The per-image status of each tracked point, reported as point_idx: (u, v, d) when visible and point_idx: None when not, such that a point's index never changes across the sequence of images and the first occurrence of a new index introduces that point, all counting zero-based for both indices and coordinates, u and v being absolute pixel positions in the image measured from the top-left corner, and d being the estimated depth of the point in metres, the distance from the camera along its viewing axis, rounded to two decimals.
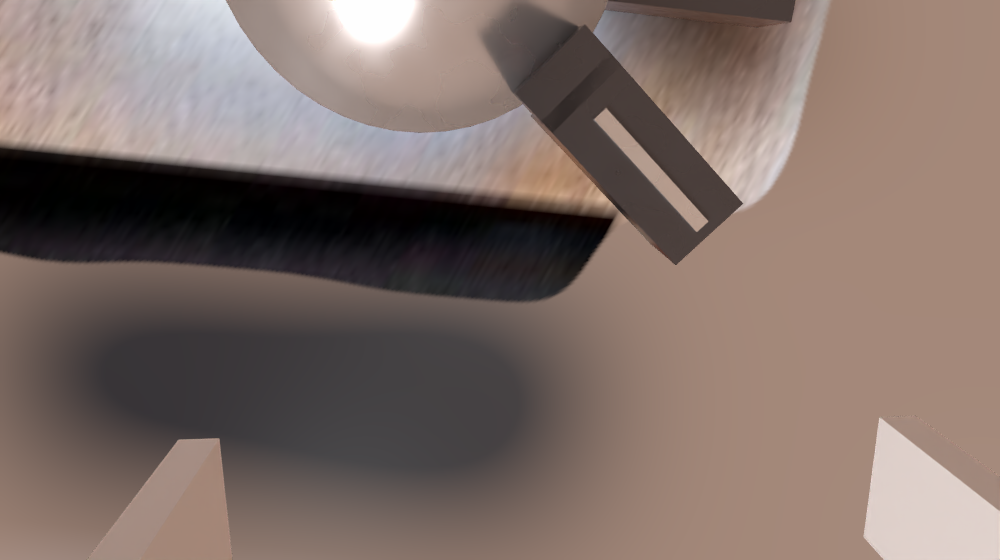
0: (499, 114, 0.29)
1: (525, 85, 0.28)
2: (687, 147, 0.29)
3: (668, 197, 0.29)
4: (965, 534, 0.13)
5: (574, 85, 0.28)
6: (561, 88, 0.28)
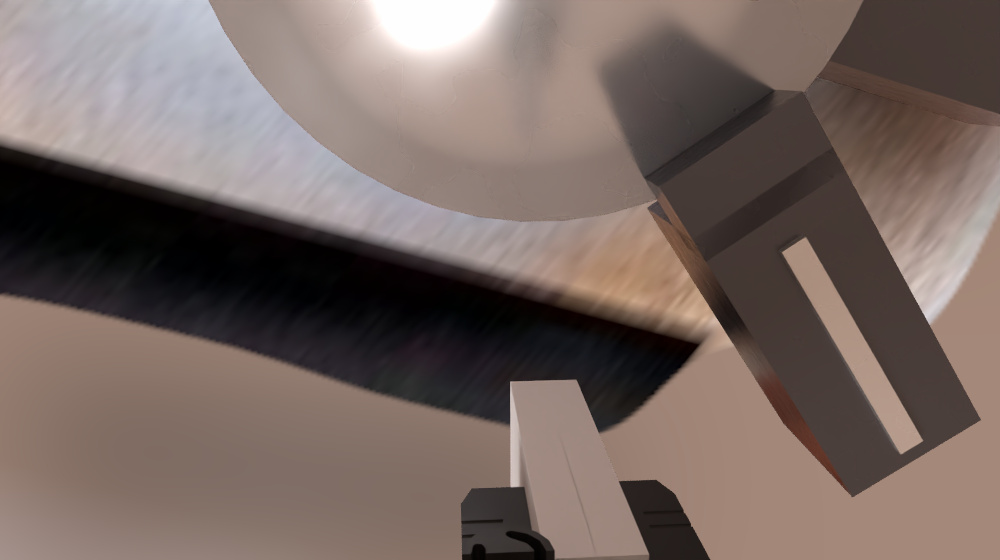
0: (614, 209, 0.18)
1: (679, 176, 0.16)
2: (917, 320, 0.17)
3: (870, 394, 0.17)
4: None
5: (760, 190, 0.16)
6: (737, 191, 0.16)
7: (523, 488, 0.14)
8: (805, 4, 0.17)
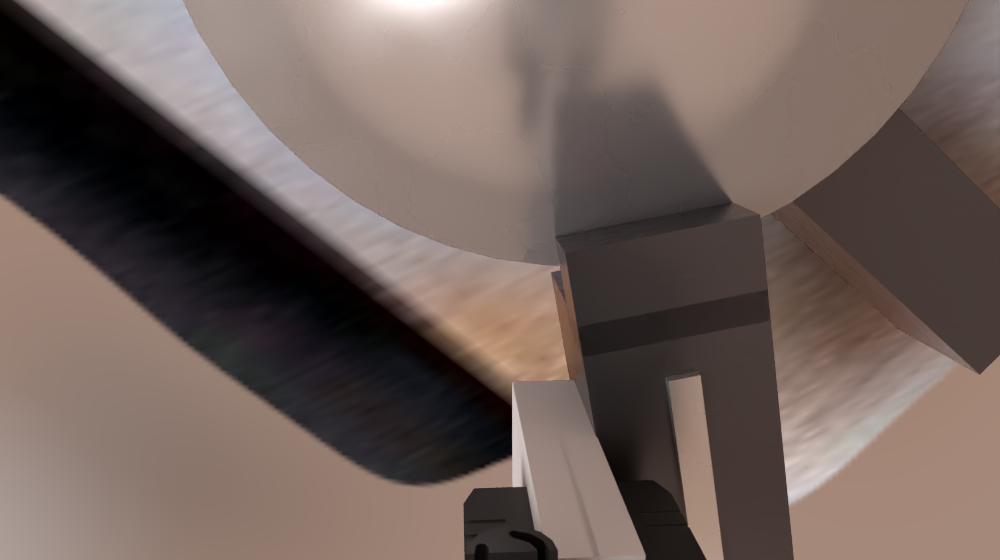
0: (510, 257, 0.15)
1: (591, 250, 0.13)
2: (780, 513, 0.15)
3: None
4: None
5: (672, 303, 0.14)
6: (647, 293, 0.14)
7: (525, 488, 0.14)
8: (800, 126, 0.14)
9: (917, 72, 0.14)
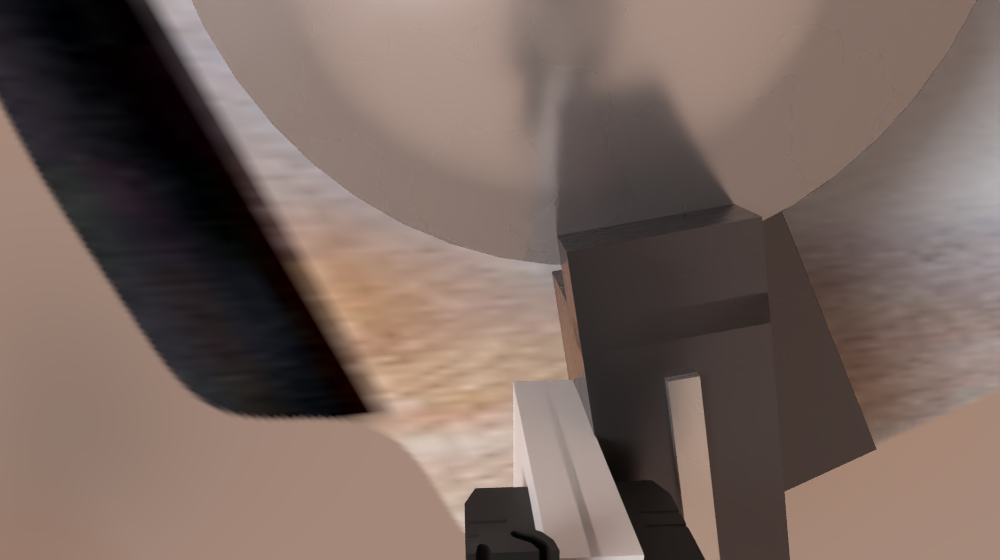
0: (511, 255, 0.15)
1: (592, 249, 0.13)
2: (777, 515, 0.15)
3: None
4: None
5: (673, 304, 0.14)
6: (648, 293, 0.14)
7: (527, 488, 0.14)
8: (803, 128, 0.14)
9: (921, 77, 0.14)
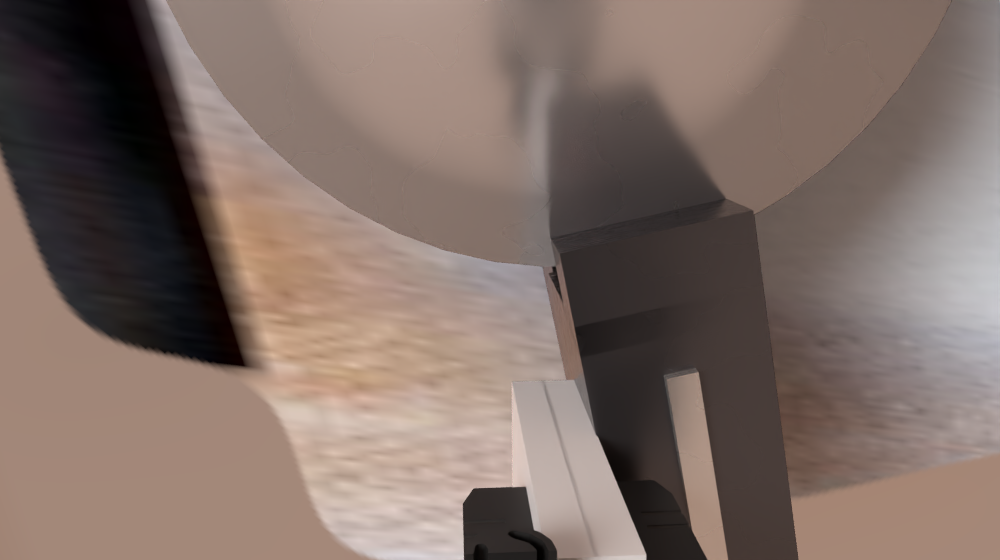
0: (505, 259, 0.15)
1: (585, 250, 0.13)
2: (783, 507, 0.15)
3: None
4: None
5: (669, 301, 0.14)
6: (643, 292, 0.14)
7: (525, 488, 0.14)
8: (792, 120, 0.14)
9: (907, 63, 0.14)
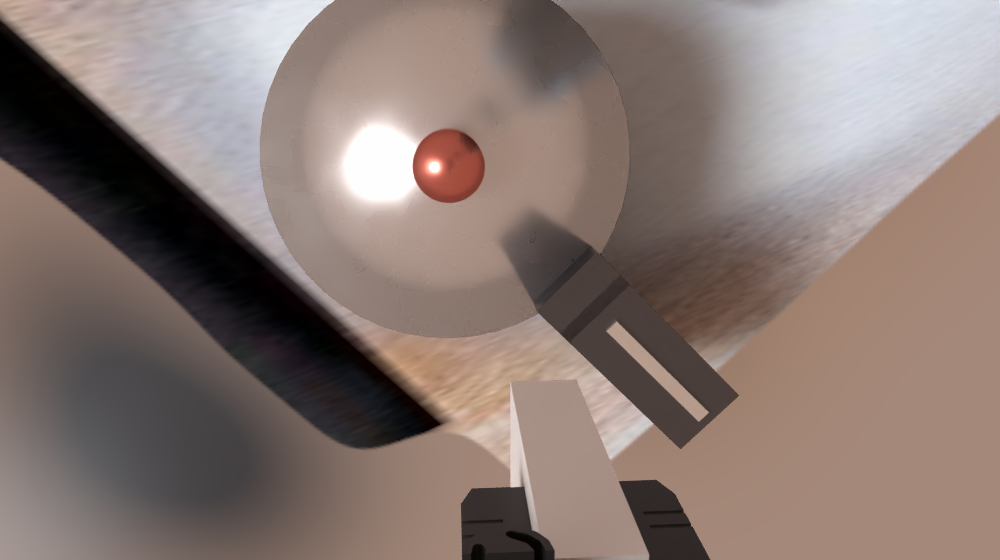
0: (521, 320, 0.33)
1: (545, 304, 0.31)
2: (689, 350, 0.32)
3: (673, 393, 0.33)
4: None
5: (588, 302, 0.32)
6: (576, 305, 0.32)
7: (523, 488, 0.14)
8: (596, 202, 0.32)
9: (626, 153, 0.32)
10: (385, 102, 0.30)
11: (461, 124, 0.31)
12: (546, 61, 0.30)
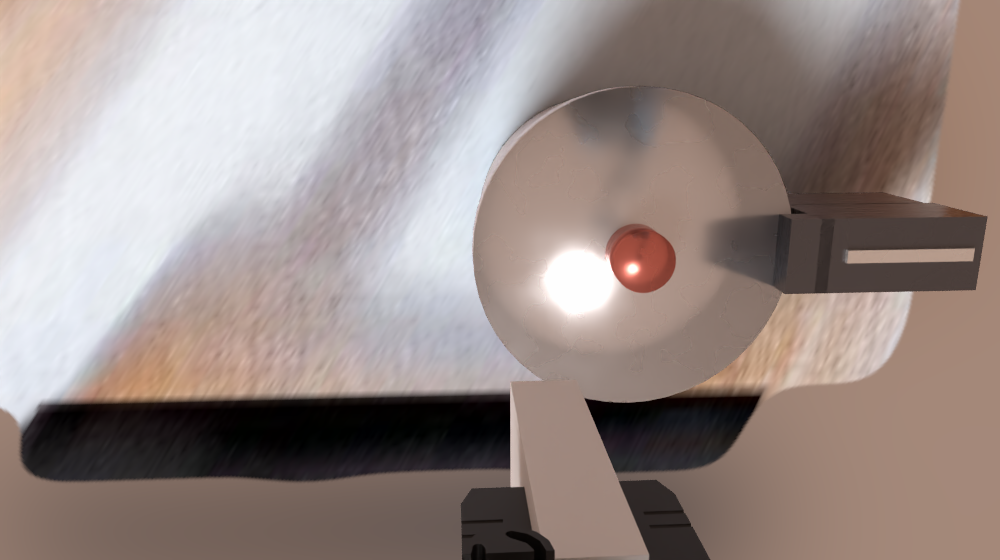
0: (775, 304, 0.37)
1: (786, 284, 0.35)
2: (919, 221, 0.35)
3: (935, 260, 0.35)
4: None
5: (816, 256, 0.35)
6: (809, 265, 0.35)
7: (523, 488, 0.14)
8: (756, 183, 0.35)
9: (748, 133, 0.34)
10: (561, 255, 0.35)
11: (621, 222, 0.35)
12: (639, 130, 0.34)
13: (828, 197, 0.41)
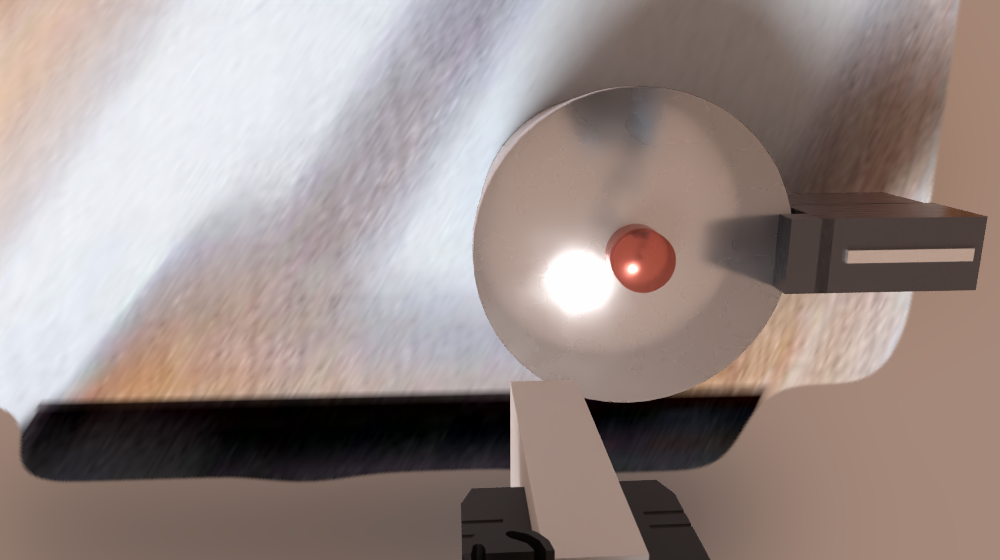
0: (775, 304, 0.37)
1: (786, 284, 0.35)
2: (919, 221, 0.35)
3: (935, 260, 0.35)
4: None
5: (816, 256, 0.35)
6: (809, 265, 0.35)
7: (523, 488, 0.14)
8: (756, 183, 0.35)
9: (748, 133, 0.34)
10: (561, 255, 0.35)
11: (621, 222, 0.35)
12: (639, 130, 0.34)
13: (828, 197, 0.41)
